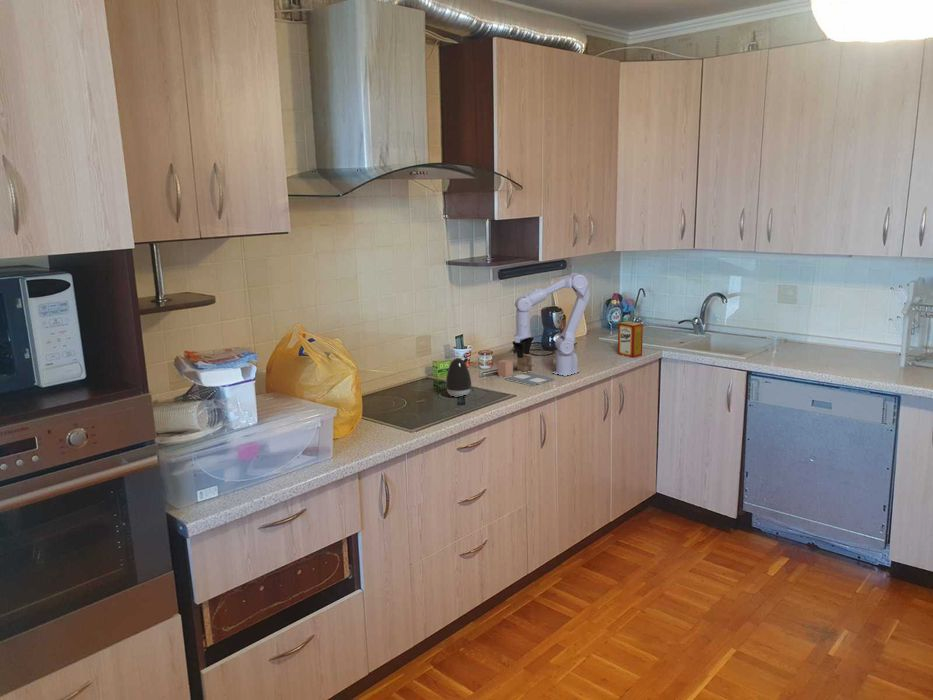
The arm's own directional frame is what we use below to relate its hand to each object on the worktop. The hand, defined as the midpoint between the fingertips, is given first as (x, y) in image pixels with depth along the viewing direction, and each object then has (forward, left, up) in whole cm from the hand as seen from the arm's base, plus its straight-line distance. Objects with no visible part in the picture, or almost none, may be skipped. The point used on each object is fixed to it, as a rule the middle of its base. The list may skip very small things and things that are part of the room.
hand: (523, 355), depth 307 cm
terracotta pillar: (+6, -5, -9) cm, 12 cm away
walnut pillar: (-6, -5, -9) cm, 11 cm away
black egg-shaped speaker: (+40, +3, -9) cm, 41 cm away
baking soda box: (-64, +11, -9) cm, 65 cm away
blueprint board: (+3, +7, -9) cm, 12 cm away
